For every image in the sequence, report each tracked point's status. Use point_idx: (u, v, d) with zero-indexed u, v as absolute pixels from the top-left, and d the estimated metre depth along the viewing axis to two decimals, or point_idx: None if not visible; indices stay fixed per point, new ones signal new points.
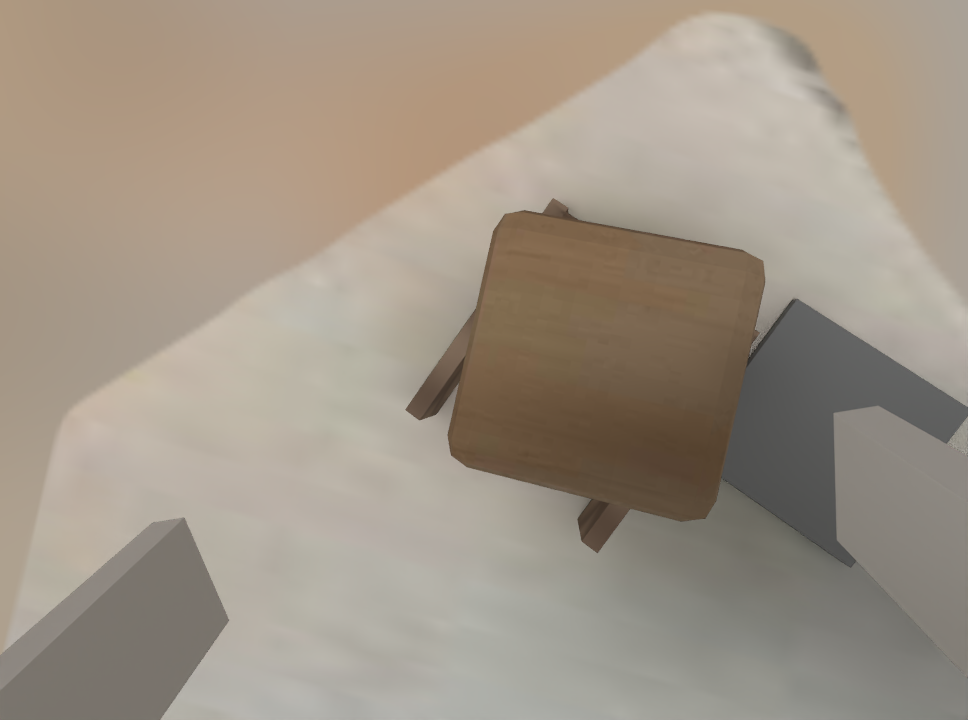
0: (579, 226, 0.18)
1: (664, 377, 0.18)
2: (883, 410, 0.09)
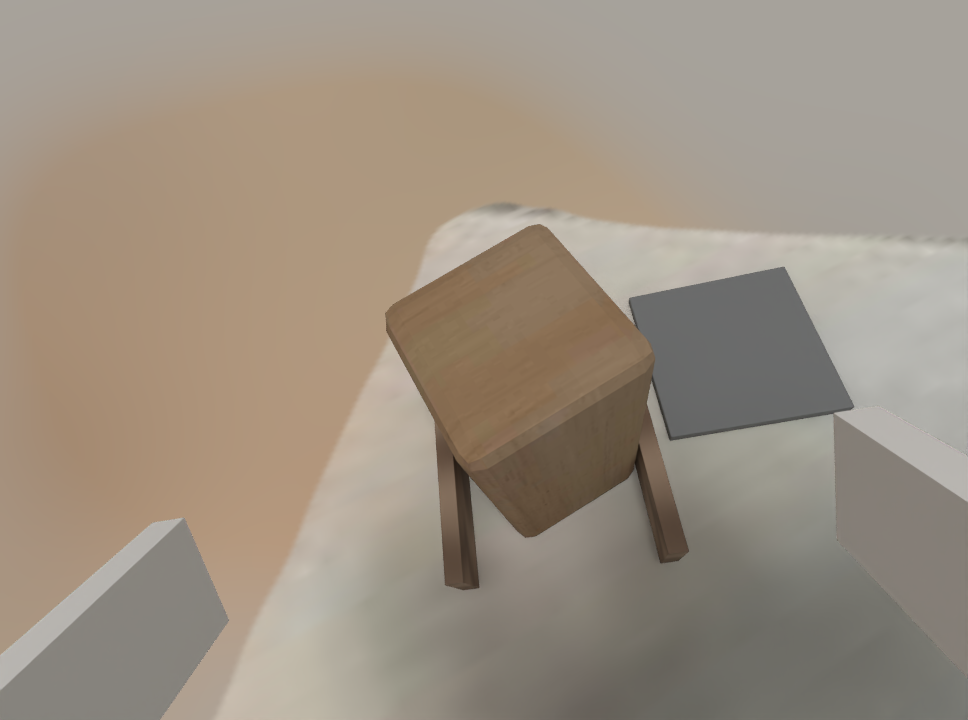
0: (431, 284, 0.26)
1: (546, 304, 0.23)
2: (883, 410, 0.09)
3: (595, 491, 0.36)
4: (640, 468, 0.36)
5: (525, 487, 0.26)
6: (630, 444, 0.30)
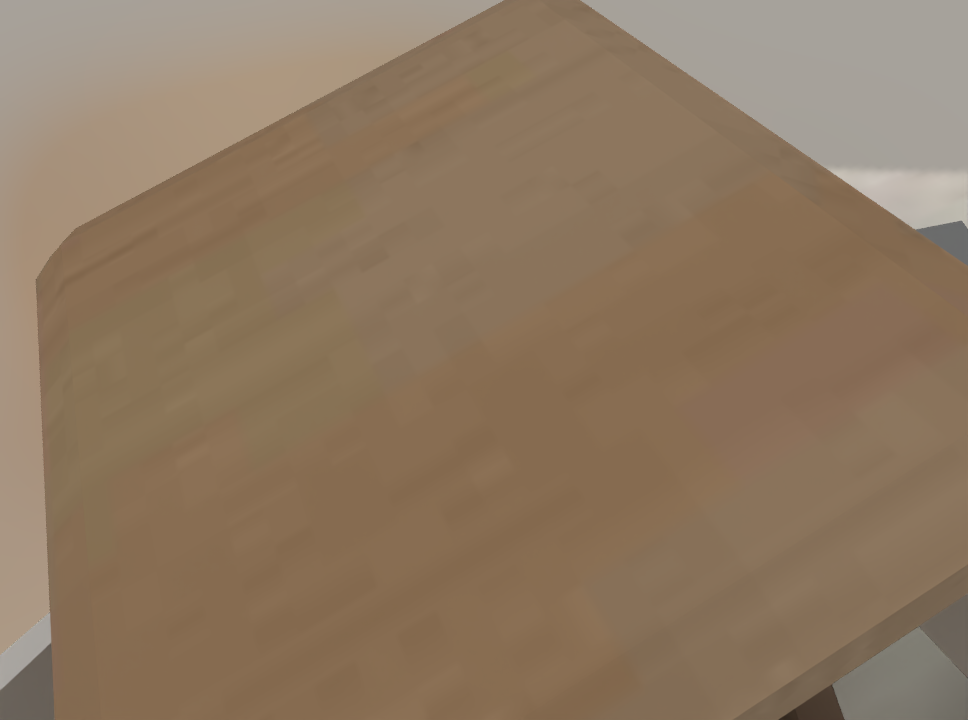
0: (198, 164, 0.08)
1: (571, 205, 0.06)
2: None
3: None
4: None
5: None
6: None
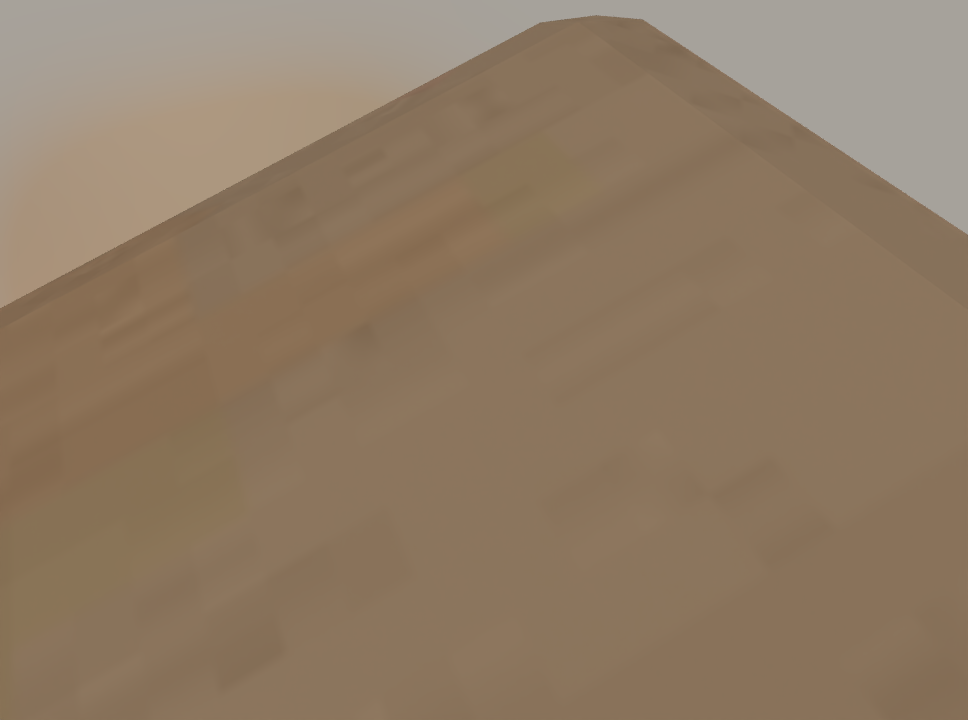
0: None
1: (718, 562, 0.02)
2: None
3: None
4: None
5: None
6: None
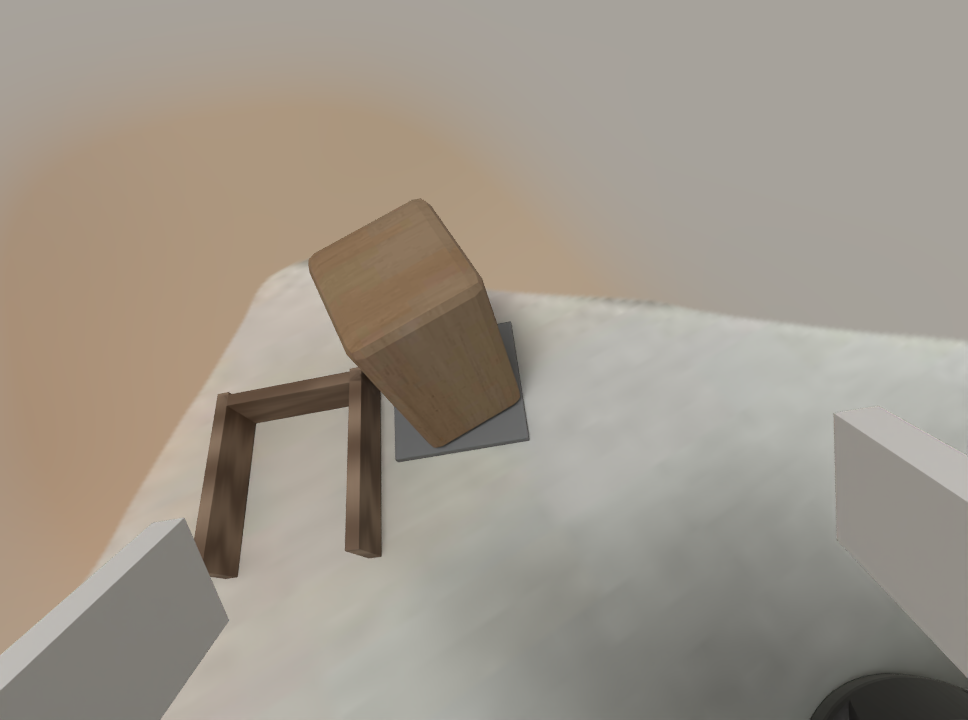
0: (341, 239, 0.36)
1: (414, 252, 0.34)
2: (883, 410, 0.09)
3: (485, 409, 0.46)
4: None
5: (408, 386, 0.37)
6: (497, 365, 0.41)
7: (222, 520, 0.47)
